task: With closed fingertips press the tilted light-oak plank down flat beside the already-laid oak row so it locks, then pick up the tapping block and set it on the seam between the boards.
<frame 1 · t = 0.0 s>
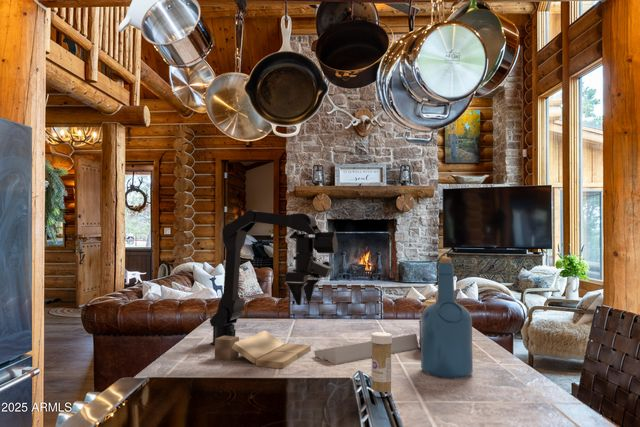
hand: (304, 303, 143), 15 cm above the kitchen island, fingers open, 9 cm apart
laid row: (285, 357, 134), on the kitchen island
wine bottle: (446, 373, 119), on the kitchen island
decorative molding: (368, 354, 141), on the kitchen island
sprinkles bottle: (381, 395, 101), on the kitchen island
plank: (259, 345, 136), point 3 cm above the kitchen island, hinge at 28.0°
tapping block: (226, 358, 132), on the kitchen island
canister: (439, 349, 146), on the kitchen island
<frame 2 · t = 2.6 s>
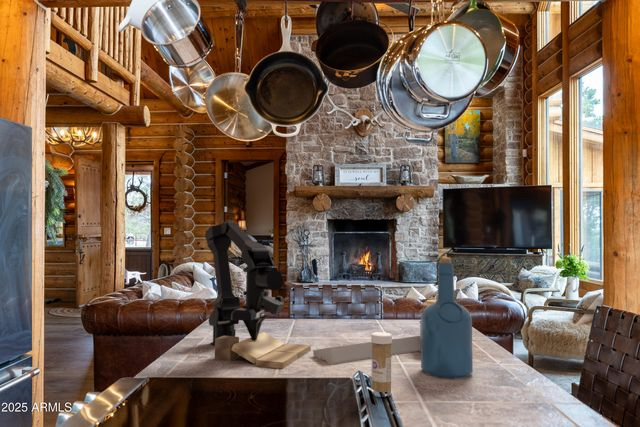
hand: (254, 340, 137), 4 cm above the kitchen island, fingers closed, pressing on plank
plank: (259, 346, 136), point 2 cm above the kitchen island, hinge at 23.6°, touching gripper
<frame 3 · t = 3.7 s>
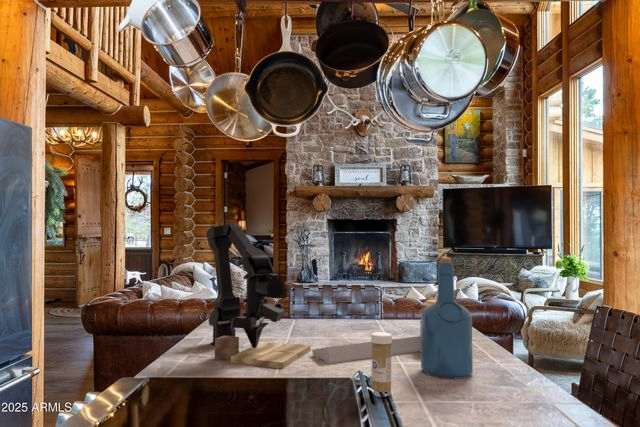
hand: (254, 347, 137), 2 cm above the kitchen island, fingers closed
plank: (259, 352, 136), point 1 cm above the kitchen island, hinge at -0.3°
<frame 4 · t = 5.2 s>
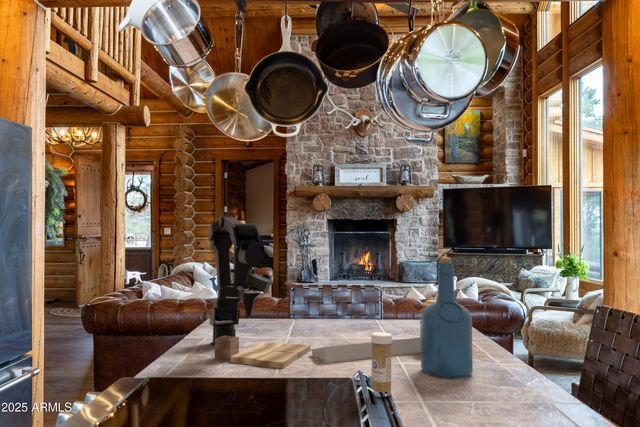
hand: (242, 318, 135), 11 cm above the kitchen island, fingers open, 9 cm apart
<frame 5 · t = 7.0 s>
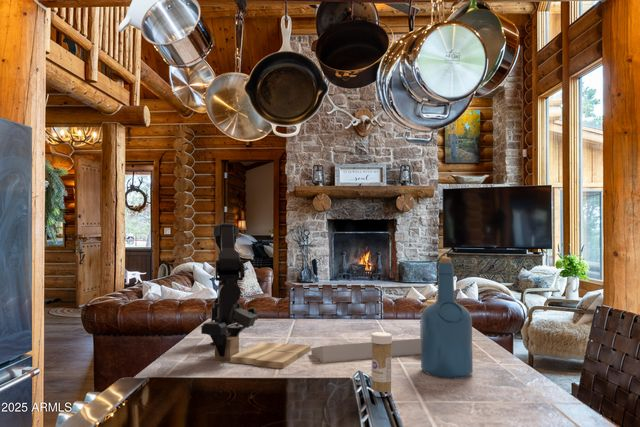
hand: (226, 354, 132), 1 cm above the kitchen island, fingers closed on tapping block, 5 cm apart
tapping block: (226, 358, 132), on the kitchen island, touching gripper
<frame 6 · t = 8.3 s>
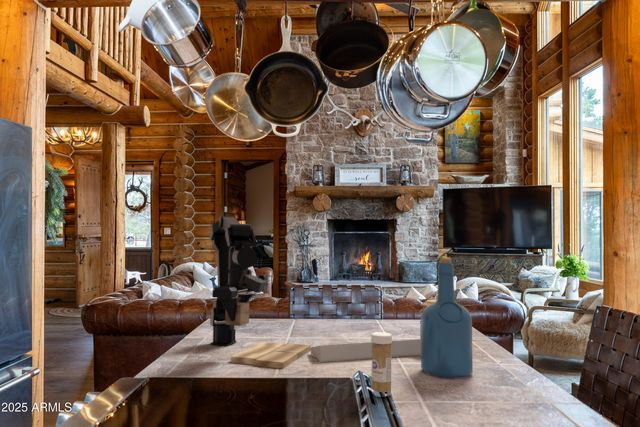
hand: (237, 319, 134), 11 cm above the kitchen island, fingers closed on tapping block, 5 cm apart
tapping block: (237, 323, 134), point 10 cm above the kitchen island, touching gripper
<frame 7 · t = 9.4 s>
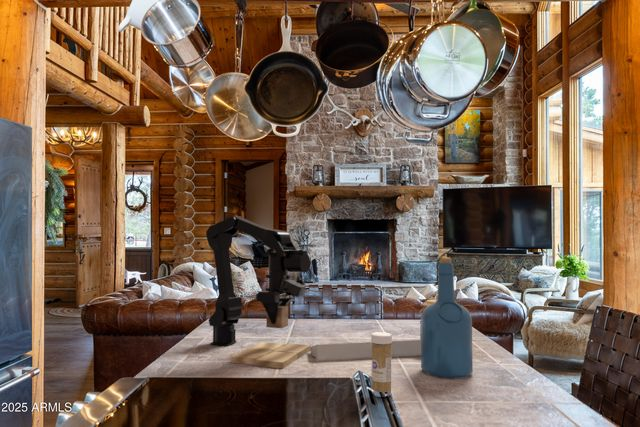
hand: (277, 322, 141), 9 cm above the kitchen island, fingers closed on tapping block, 5 cm apart
tapping block: (277, 326, 141), point 8 cm above the kitchen island, touching gripper
when the fingers open (4 cm above the kitchen island, at t = 10.6 s): tapping block stays where it is, resting on plank.
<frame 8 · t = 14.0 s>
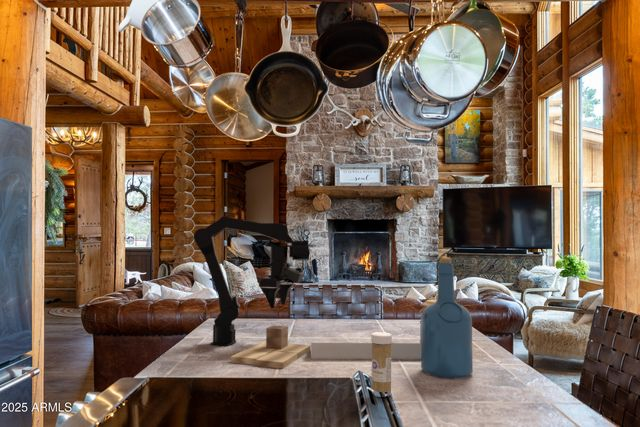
hand: (278, 306, 155), 12 cm above the kitchen island, fingers open, 9 cm apart
decorative molding: (367, 357, 138), on the kitchen island
plank: (259, 352, 136), point 1 cm above the kitchen island, hinge at -0.3°, touching tapping block
tapping block: (277, 347, 140), point 2 cm above the kitchen island, touching plank
everything else where it was.
at the end: plank at +0° (first picture: +28°); tapping block inside the target area (0.5 cm from its centre), point 1.6 cm above the kitchen island; tapping block tilted 0° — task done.
